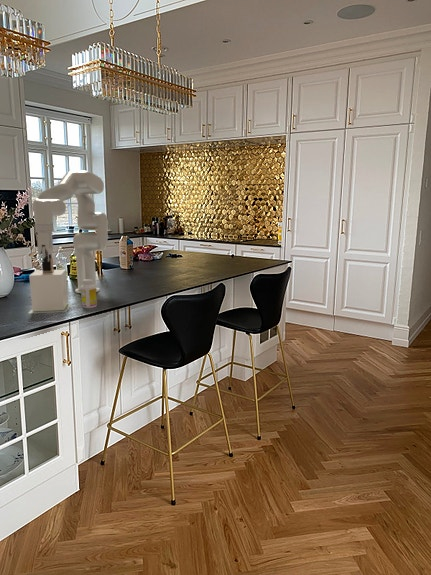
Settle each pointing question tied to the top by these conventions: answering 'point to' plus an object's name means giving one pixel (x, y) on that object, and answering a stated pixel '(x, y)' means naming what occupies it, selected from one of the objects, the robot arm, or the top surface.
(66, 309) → the mat
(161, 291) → the top surface
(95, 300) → the supplement bottle
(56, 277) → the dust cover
